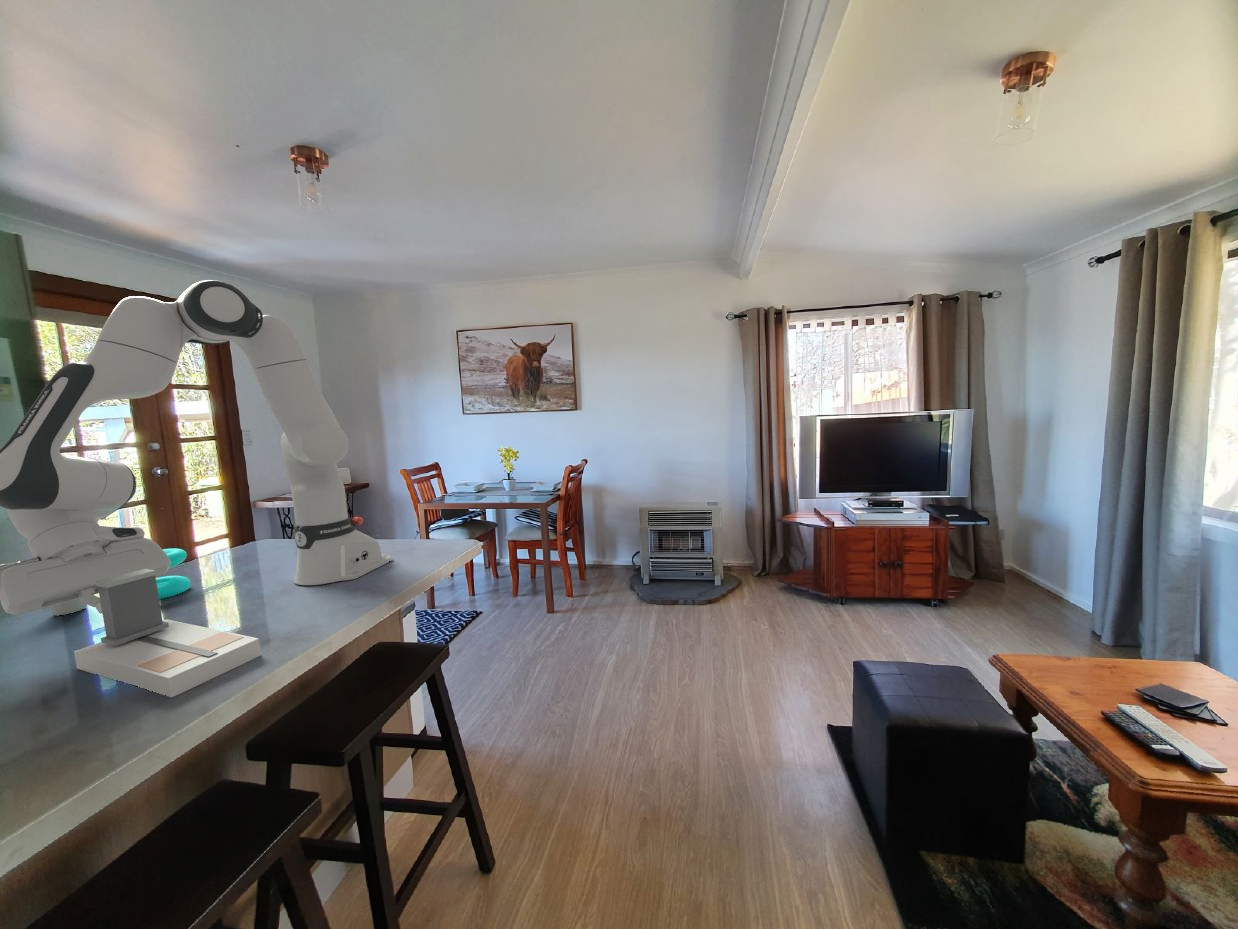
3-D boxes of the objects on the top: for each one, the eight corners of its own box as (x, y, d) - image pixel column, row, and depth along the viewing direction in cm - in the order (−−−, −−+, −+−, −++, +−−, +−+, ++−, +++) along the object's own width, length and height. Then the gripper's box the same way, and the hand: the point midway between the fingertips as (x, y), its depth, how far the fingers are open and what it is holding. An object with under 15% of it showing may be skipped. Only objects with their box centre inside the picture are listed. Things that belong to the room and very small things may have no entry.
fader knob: (101, 642, 76) (90, 582, 75) (155, 624, 83) (146, 567, 82) (114, 646, 75) (104, 584, 74) (168, 627, 81) (159, 569, 80)
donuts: (196, 545, 112) (164, 557, 102) (202, 584, 113) (171, 600, 103) (148, 549, 110) (111, 562, 100) (154, 589, 111) (118, 605, 101)
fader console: (77, 668, 75) (73, 650, 75) (169, 634, 86) (166, 618, 86) (171, 697, 66) (168, 676, 66) (261, 655, 77) (258, 637, 77)
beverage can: (62, 617, 96) (52, 562, 95) (46, 616, 97) (35, 561, 96) (93, 607, 101) (83, 554, 99) (76, 606, 102) (67, 554, 100)
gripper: (-17, 556, 72) (25, 624, 70) (152, 525, 91) (189, 577, 89) (-24, 581, 74) (16, 647, 72) (142, 545, 93) (178, 597, 91)
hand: (113, 608), depth 80 cm, fingers closed
